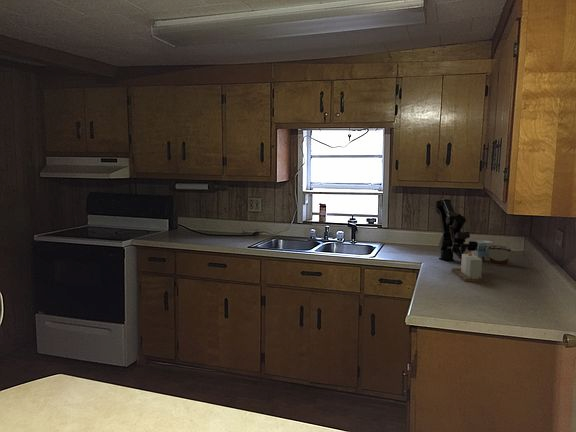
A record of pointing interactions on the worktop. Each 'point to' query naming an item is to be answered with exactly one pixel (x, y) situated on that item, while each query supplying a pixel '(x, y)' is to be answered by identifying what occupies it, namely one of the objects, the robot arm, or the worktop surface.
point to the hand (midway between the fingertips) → (461, 259)
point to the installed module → (473, 267)
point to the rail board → (466, 278)
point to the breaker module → (463, 262)
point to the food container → (499, 255)
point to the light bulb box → (482, 250)
